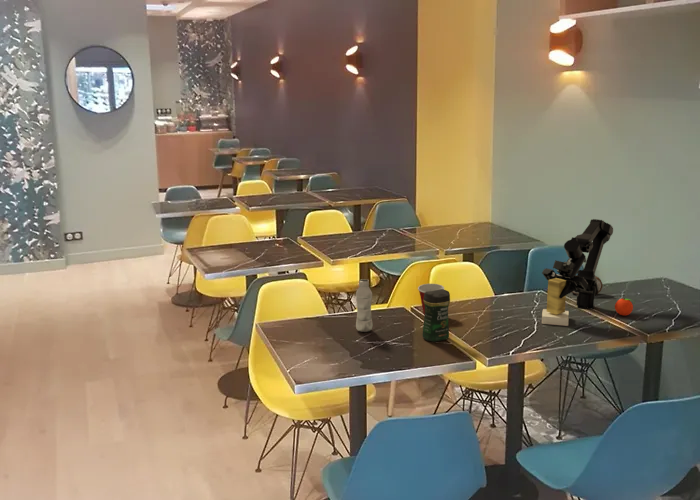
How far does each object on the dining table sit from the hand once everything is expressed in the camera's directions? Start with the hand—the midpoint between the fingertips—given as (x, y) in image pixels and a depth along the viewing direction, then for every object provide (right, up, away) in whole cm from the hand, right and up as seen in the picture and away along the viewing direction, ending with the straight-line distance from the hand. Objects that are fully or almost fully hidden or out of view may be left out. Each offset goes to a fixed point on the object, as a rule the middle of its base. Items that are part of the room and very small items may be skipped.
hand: (554, 296), depth 281 cm
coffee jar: (-49, -15, -16) cm, 53 cm away
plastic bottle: (-75, -13, -7) cm, 77 cm away
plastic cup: (-47, -9, +11) cm, 50 cm away
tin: (+25, -2, +40) cm, 47 cm away
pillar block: (+1, -6, +2) cm, 7 cm away
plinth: (+1, -10, +3) cm, 10 cm away
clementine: (+31, -9, +9) cm, 34 cm away
